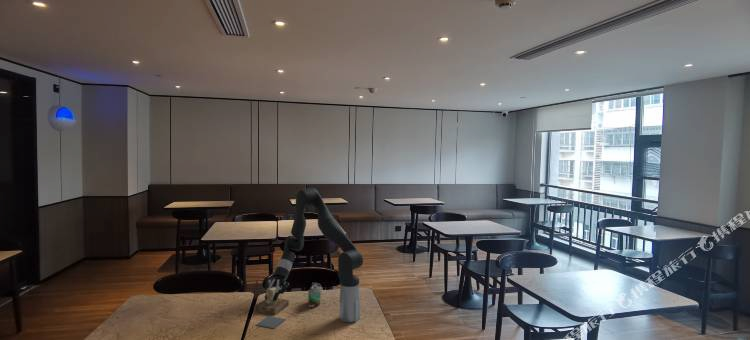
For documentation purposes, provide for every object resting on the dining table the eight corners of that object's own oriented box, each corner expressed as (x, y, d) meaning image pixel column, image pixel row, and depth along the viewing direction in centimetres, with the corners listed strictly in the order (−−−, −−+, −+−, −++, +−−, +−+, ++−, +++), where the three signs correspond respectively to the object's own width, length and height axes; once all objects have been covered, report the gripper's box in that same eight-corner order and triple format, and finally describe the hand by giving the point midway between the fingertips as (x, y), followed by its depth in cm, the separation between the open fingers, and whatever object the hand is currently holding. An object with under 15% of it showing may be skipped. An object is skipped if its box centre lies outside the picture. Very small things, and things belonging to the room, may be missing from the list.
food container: (319, 309, 195) (320, 290, 195) (308, 309, 195) (308, 290, 195) (323, 300, 208) (323, 282, 207) (312, 300, 208) (312, 282, 207)
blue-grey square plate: (286, 319, 183) (286, 319, 183) (274, 329, 174) (274, 328, 174) (268, 316, 187) (268, 315, 187) (255, 325, 177) (255, 324, 177)
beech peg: (277, 306, 198) (277, 287, 197) (273, 309, 194) (273, 289, 193) (271, 305, 199) (271, 286, 198) (266, 308, 195) (266, 288, 195)
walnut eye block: (288, 305, 200) (288, 299, 200) (275, 314, 189) (275, 308, 189) (269, 302, 204) (269, 296, 204) (255, 311, 193) (255, 305, 193)
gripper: (268, 264, 205) (254, 294, 194) (291, 267, 200) (279, 298, 189) (274, 271, 210) (261, 301, 199) (297, 274, 205) (285, 305, 195)
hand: (270, 299), depth 194 cm, fingers closed on beech peg, 4 cm apart
